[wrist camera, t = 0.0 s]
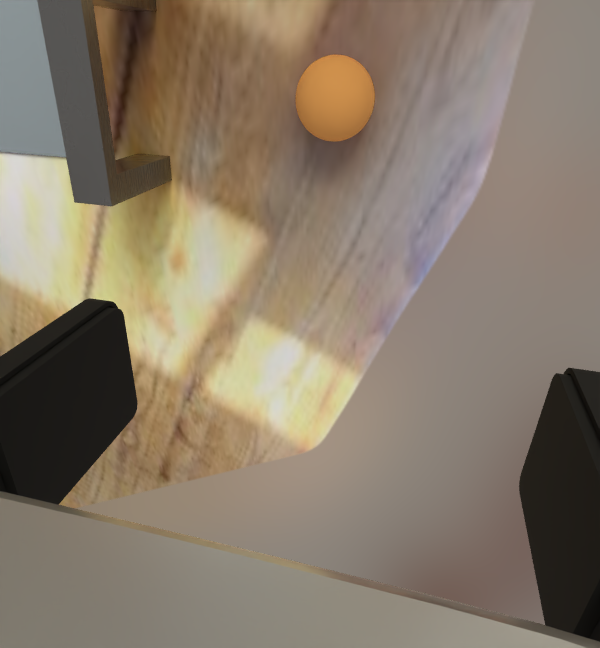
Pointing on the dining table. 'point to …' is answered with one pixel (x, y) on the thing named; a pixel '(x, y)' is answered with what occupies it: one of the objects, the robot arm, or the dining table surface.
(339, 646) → the robot arm
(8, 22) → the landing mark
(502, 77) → the dining table surface
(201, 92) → the dining table surface
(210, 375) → the dining table surface
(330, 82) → the ball
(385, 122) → the dining table surface
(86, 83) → the bridge
